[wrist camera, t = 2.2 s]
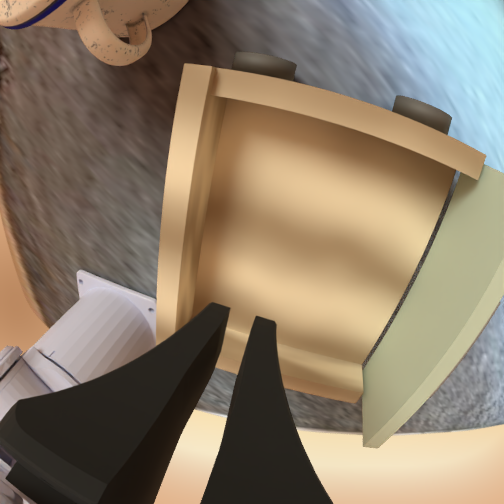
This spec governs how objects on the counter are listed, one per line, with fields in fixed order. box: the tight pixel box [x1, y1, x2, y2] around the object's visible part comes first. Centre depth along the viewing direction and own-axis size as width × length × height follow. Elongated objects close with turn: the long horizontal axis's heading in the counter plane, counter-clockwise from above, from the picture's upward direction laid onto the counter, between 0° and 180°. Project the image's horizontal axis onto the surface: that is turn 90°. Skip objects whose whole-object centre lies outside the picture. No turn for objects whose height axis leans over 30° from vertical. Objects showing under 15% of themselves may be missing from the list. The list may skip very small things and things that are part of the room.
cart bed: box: [156, 52, 486, 403], centre depth 16 cm, size 18×13×5 cm
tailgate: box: [362, 164, 504, 448], centre depth 13 cm, size 15×2×6 cm, turn 168°
